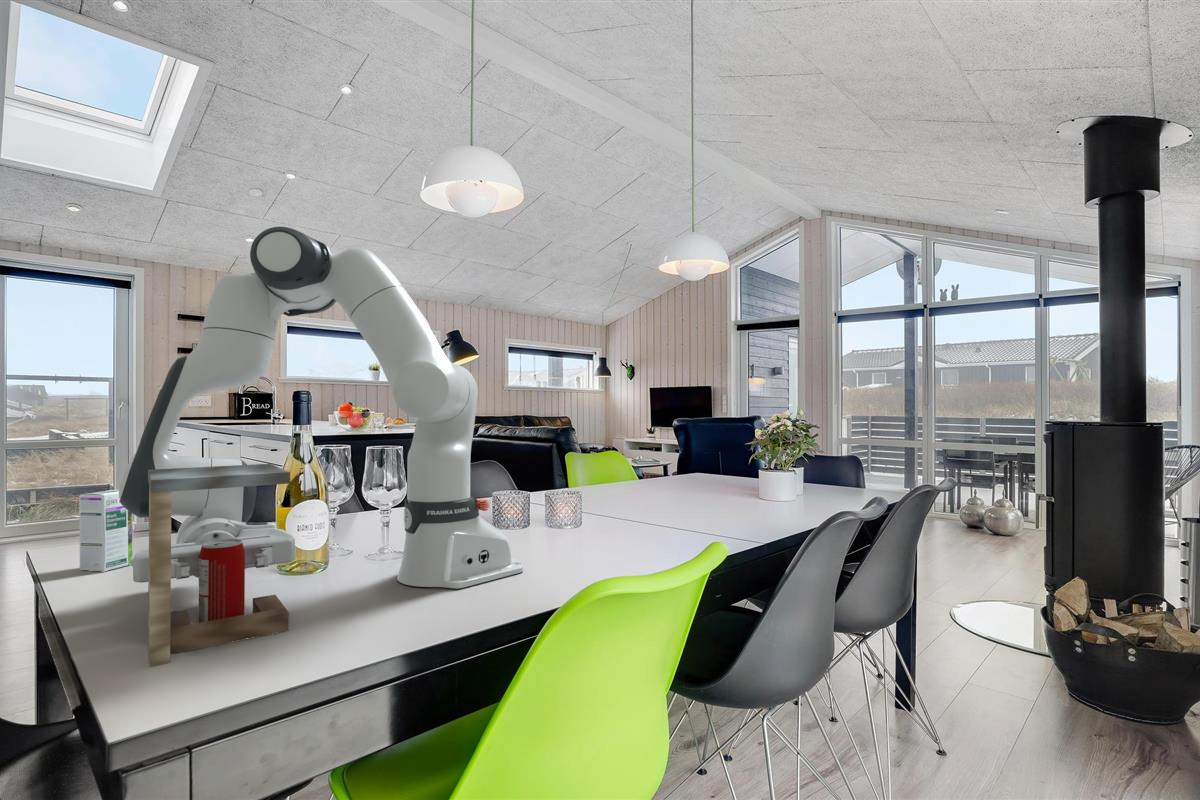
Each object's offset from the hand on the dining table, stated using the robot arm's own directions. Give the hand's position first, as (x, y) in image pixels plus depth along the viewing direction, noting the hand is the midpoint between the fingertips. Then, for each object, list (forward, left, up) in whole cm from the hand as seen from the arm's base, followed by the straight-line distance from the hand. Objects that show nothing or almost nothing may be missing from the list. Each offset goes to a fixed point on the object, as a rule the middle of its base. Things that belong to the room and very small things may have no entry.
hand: (224, 566), depth 85 cm
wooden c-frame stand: (+1, +2, -9) cm, 9 cm away
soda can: (0, -1, -9) cm, 9 cm away
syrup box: (+14, -51, -9) cm, 54 cm away
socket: (0, +1, -9) cm, 9 cm away
